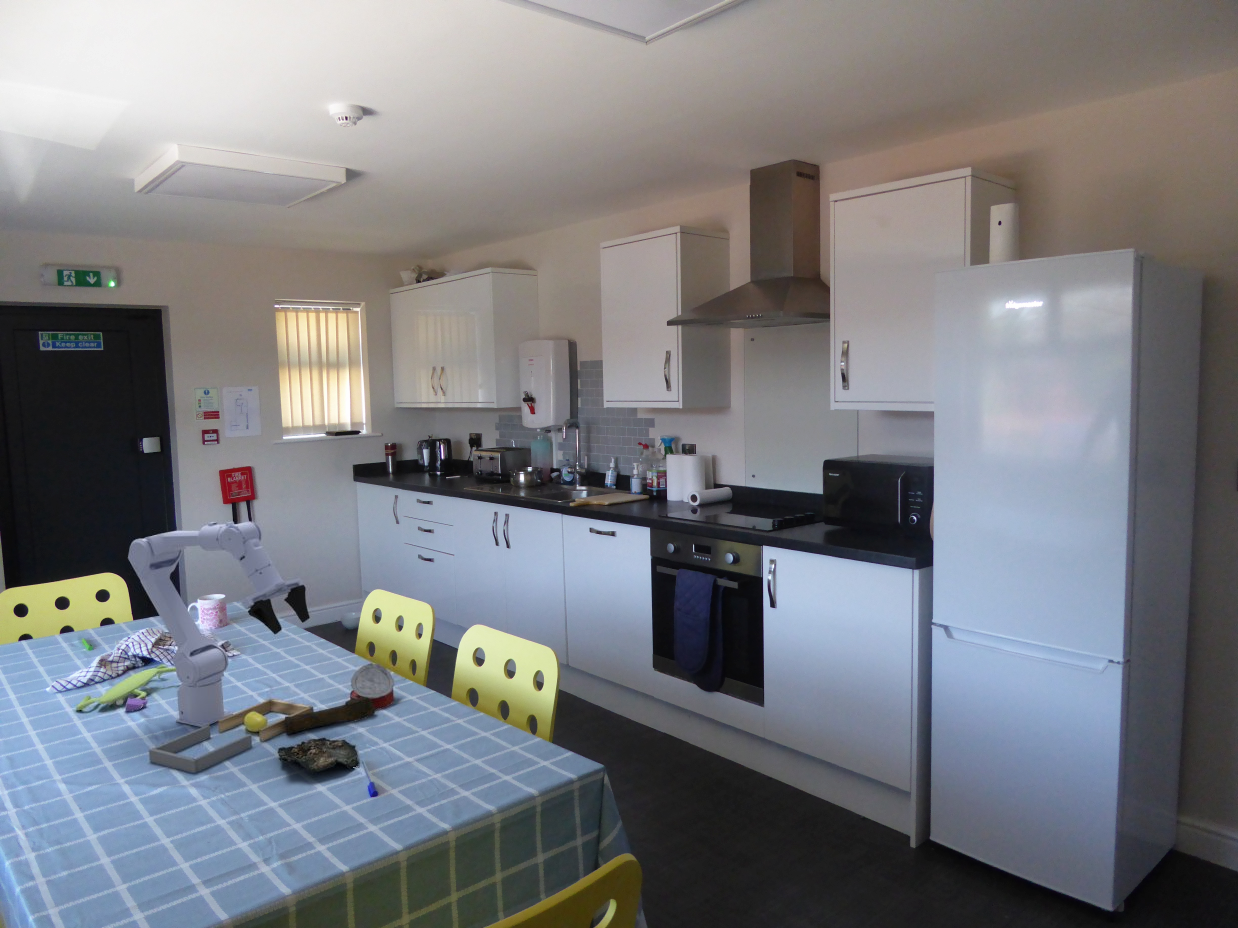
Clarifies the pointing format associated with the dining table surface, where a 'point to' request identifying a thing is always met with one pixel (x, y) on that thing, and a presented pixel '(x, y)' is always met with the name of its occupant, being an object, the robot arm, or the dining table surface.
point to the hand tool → (331, 715)
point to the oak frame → (262, 709)
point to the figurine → (128, 690)
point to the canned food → (373, 685)
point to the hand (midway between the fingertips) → (292, 625)
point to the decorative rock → (320, 754)
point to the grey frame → (168, 758)
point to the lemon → (255, 721)
